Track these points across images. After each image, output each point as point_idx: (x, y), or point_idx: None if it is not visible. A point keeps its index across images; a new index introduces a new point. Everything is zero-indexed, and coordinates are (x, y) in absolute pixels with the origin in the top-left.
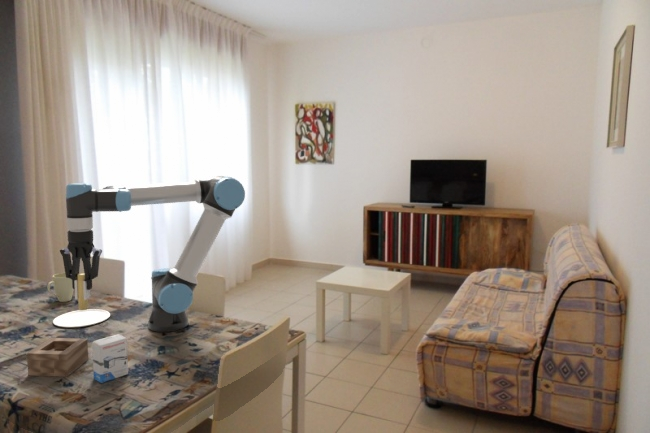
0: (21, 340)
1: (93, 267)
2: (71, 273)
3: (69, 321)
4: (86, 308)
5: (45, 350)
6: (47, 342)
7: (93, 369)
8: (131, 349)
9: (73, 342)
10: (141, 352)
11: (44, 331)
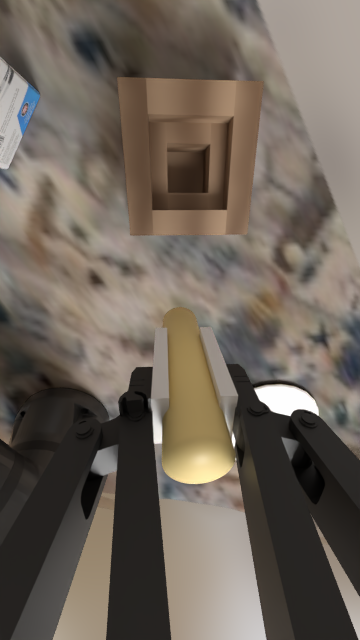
0: (343, 317)
1: (19, 553)
2: (298, 466)
3: (284, 411)
4: (163, 320)
5: (227, 159)
6: (240, 193)
7: (24, 79)
8: (65, 295)
9: (163, 210)
10: (28, 281)
11: (314, 364)
